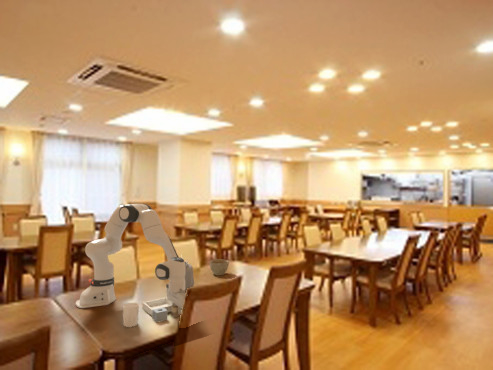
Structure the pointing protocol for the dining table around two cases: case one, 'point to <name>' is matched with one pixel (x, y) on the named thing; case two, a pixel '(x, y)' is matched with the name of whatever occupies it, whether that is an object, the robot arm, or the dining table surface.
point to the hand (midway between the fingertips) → (176, 311)
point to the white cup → (130, 314)
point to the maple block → (174, 311)
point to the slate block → (159, 314)
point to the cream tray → (157, 305)
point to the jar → (188, 276)
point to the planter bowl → (219, 266)
